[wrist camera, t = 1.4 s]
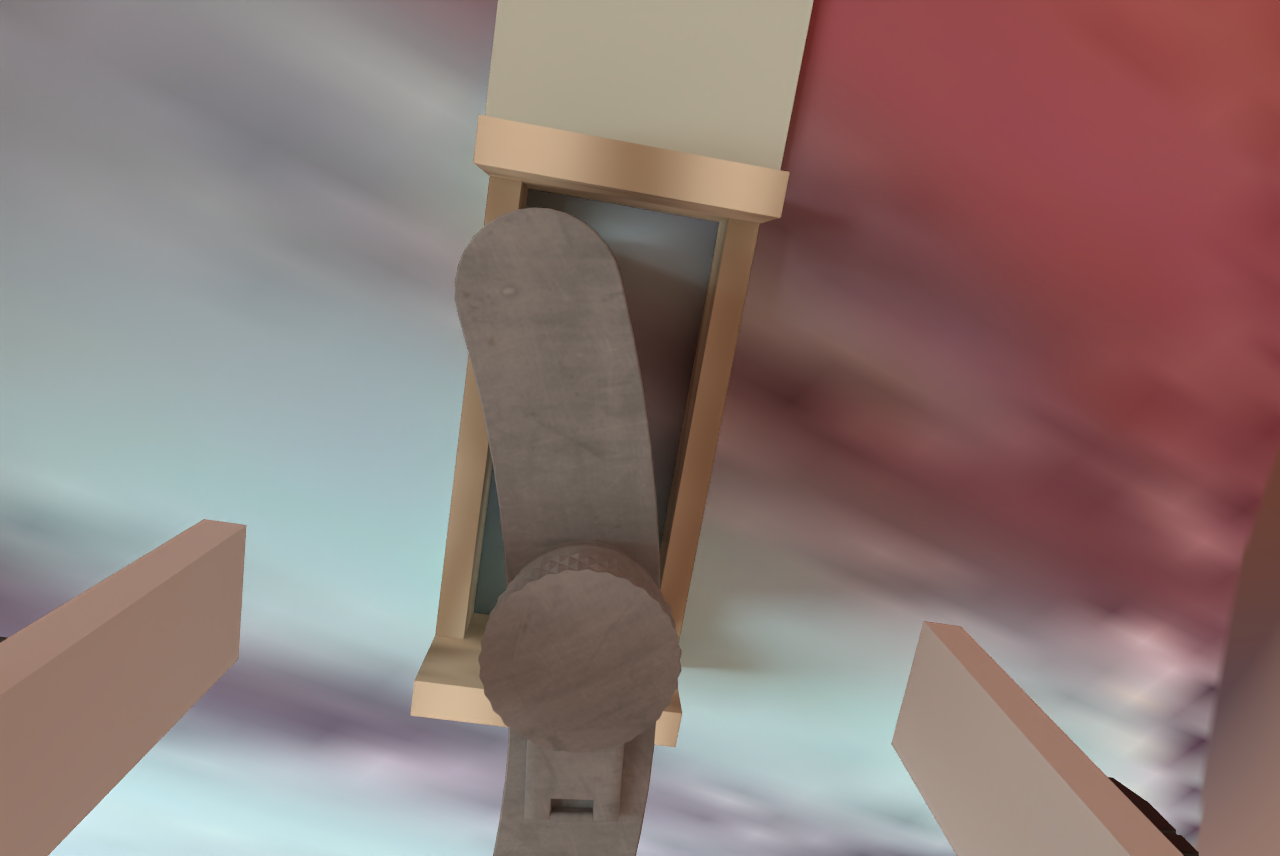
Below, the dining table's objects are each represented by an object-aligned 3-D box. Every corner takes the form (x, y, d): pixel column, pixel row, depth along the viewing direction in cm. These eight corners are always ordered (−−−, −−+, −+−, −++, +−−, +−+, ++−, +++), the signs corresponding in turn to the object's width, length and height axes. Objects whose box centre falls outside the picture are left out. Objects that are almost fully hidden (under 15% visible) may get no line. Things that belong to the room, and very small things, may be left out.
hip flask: (536, 241, 31) (413, 194, 11) (634, 240, 31) (683, 192, 11) (551, 596, 34) (477, 1040, 14) (638, 593, 34) (683, 1028, 15)
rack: (444, 638, 34) (410, 715, 28) (504, 144, 30) (478, 114, 24) (663, 666, 35) (675, 747, 29) (754, 190, 30) (789, 172, 25)
